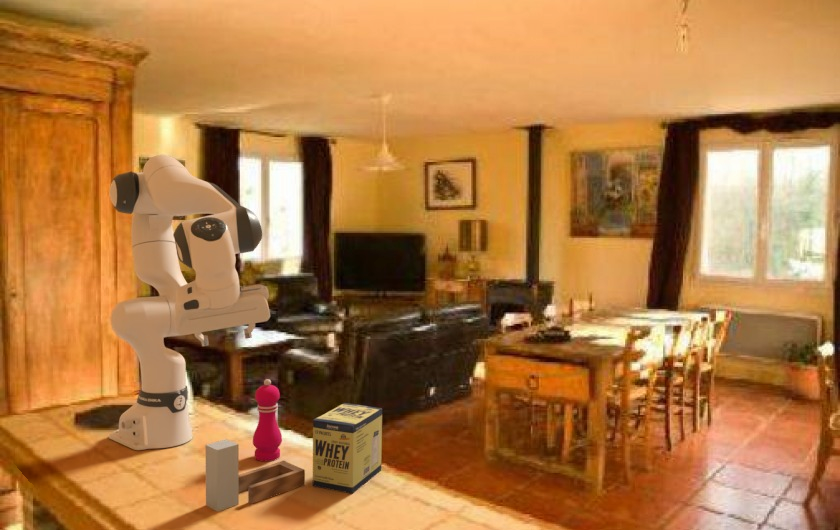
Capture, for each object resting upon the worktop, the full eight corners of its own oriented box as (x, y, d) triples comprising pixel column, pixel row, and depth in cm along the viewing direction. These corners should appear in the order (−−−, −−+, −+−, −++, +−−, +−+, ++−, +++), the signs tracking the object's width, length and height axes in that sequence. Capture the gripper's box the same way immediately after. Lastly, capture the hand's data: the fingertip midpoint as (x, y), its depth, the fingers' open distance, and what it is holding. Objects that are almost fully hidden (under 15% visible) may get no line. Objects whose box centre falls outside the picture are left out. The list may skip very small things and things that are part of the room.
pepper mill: (274, 463, 163) (275, 383, 161) (247, 460, 164) (247, 381, 163) (286, 453, 170) (286, 376, 168) (260, 450, 171) (260, 374, 170)
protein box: (311, 486, 149) (311, 419, 148) (344, 463, 164) (344, 401, 163) (352, 494, 145) (353, 425, 144) (382, 470, 160) (383, 407, 159)
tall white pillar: (217, 511, 136) (217, 450, 135) (205, 505, 139) (205, 444, 138) (238, 504, 140) (238, 444, 139) (226, 497, 143) (226, 439, 142)
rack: (251, 503, 140) (251, 487, 140) (230, 492, 145) (230, 477, 145) (304, 484, 150) (304, 469, 150) (283, 475, 155) (283, 460, 155)
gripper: (265, 275, 148) (271, 324, 155) (169, 289, 142) (180, 339, 149) (269, 290, 143) (275, 340, 150) (169, 306, 137) (180, 357, 144)
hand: (227, 340), depth 150 cm, fingers open, 8 cm apart
